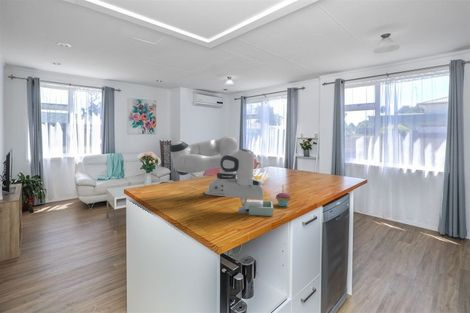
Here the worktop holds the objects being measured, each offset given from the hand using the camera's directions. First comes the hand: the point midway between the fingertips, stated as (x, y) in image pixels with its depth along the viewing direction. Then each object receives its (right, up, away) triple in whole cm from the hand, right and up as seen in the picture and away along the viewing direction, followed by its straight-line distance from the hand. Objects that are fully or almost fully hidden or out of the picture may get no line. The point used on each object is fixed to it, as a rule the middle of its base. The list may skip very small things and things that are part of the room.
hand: (243, 206), depth 126 cm
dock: (+6, -4, 0) cm, 7 cm away
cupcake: (+23, -2, +12) cm, 26 cm away
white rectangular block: (+6, -2, -1) cm, 6 cm away
